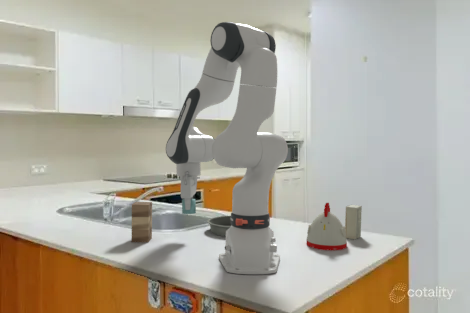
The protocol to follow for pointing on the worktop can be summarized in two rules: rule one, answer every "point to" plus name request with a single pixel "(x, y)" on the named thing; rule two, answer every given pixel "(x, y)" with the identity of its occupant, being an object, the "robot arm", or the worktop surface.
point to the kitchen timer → (326, 232)
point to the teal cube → (193, 207)
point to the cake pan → (220, 225)
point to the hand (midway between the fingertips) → (189, 208)
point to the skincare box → (353, 221)
